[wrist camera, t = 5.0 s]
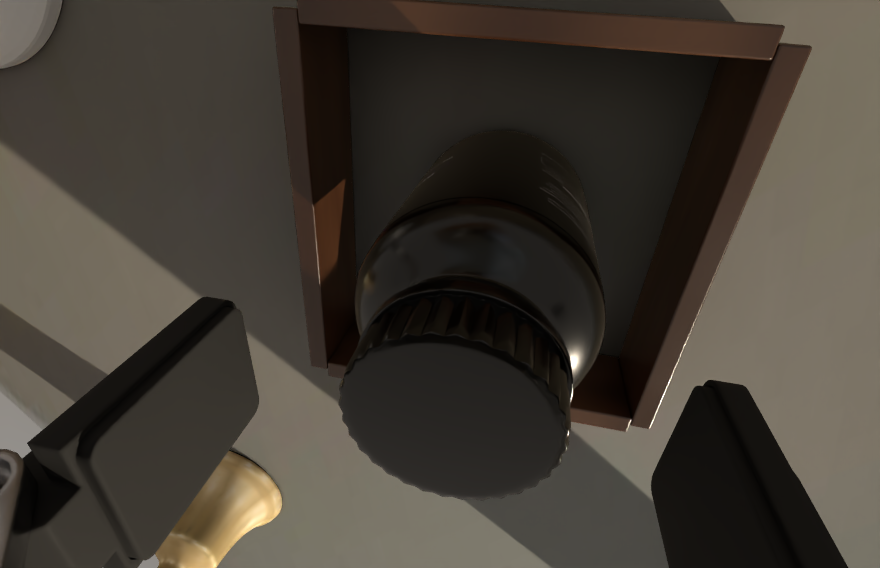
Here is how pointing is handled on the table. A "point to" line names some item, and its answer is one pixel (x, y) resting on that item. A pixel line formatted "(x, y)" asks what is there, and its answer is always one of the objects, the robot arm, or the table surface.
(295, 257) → the table surface
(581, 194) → the supplement bottle
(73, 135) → the table surface
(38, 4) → the candlestick
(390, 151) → the table surface
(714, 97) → the walnut caddy
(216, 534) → the hand bell
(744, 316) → the table surface
